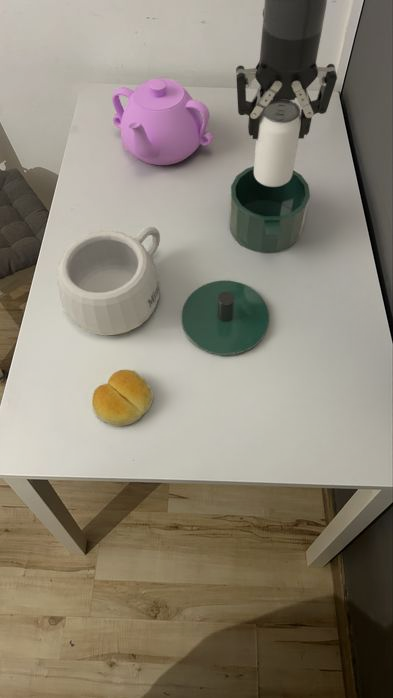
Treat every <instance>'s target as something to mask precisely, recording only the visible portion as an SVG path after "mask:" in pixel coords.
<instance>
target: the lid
mask: <svg viewBox="0 0 393 698" xmlns="http://www.w3.org/2000/svg"><path fill="white" fill-rule="evenodd" d="M269 322H270V313H269V308H268V305H267V303H266V301H265V299H264V298H263V297H262V296H261V295H260V293H259V292H257V291H256V290H255V289H254V288H252V287H251V286H249V285H247V284H245V283H242V282H239V281H234V280H216V281H211V282H208V283H205V284H203V285H202V286H199V287H198V288H196V289H195V290H194V291H192V292H191V293H190V294H189V296H188V297H187V298H186V300H185V302H184V304H183V306H182V310H181V324H182V329H183V330H184V332H185V333H184V334H186V336H187V338H188V339H189V340H190V341H191V342H192V343H193V344H194V345H195V346H197V347H198V348H199V349H201V350H203V351H206V352H207V353H210V354H214V355H219V356H231V355H232V356H233V355H238V354H241V353H244V352H246V351H248V350H250V349H252V348H253V347H255V346H257V344H259V342H260V341H261V340H262V339H263V338H264V336H265V334H266V333H267V332H268V331H267V330H268V328H269Z"/></svg>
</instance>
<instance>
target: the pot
mask: <svg viewBox="0 0 393 698" xmlns="http://www.w3.org/2000/svg"><path fill="white" fill-rule="evenodd" d="M310 199H311V192H310V185H309V183H308V182H307V181H306V180H305V177H303V175H302V174H300V173H299V172H298V171H296V170H294V169H293V173H292V177H291V179H290V181H289V182H287V183H286V184H284V185H282V186H279V187H267V186H264V185H262V184H261V183H259V182H258V181H257V180H256V178H255V177H254V165H253V166H250V167H247V168H245V169H243V171H241V172H239V174H237V175H236V176H235V178H234V180H233V182H232V184H231V185H230V201H229V202H230V203H229V230H230V233H231V235H232V237H233V239H234V241H236V242H237V243H238V244H239V245H241V246H242V247H244V248H245V249H248V250H250V251H252V252H257V253H261V254H263V253H264V254H273V253H278V252H282V251H284V250H287V249H289V248H291V247H292V246H293V245H294V244H296V242H297V241H298V240H299V239H300V237H301V235H302V231H303V229H304V226H305V221H306V216H307V211H308V207H309V203H310Z"/></svg>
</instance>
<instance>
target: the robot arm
mask: <svg viewBox="0 0 393 698" xmlns="http://www.w3.org/2000/svg"><path fill="white" fill-rule="evenodd" d="M327 3H328V0H264V4H263V9H262V27H261V38H260V39H261V41H260V51H259V52H260V53H259V60H258V63H257V64H256V66H255V67H254V68H245V66H243V65H238V66H237V67H236V68H235V75H236V76H235V78H236V79H235V80H236V94H237V95H236V97H237V113H238V115H240V116H247V117H248V125H247V128H248V129H247V131H248V135H249V136H250V137H251V136H252V140H256V139H257V138H258V127H259V115H260V113H261V112H262V110H263V109H264V108H266V107H267V105H268V104H269V103H270V101H271V100H272V99H273V100H281V99H287V100H291V101H295V99H296V100H297V102H298V105H299V107H300V116H301V127H300V133H299V139H298V140H301V139H302V140H303V139H305V136H308V134H309V133H310V129H311V124H312V119H313V116H314V115H316V114H320V115H324V114H325V113H327V111H328V108H329V106H330V105H329V104H330V101H331V99H332V95H333V92H334V89H335V86H336V83H337V80H338V75H337V70H336V66H335V64H333V63H329V64H328V65H326V66H325V67H324V66H318V65H317V59H318V53H319V49H320V43H321V37H322V31H323V27H324V21H325V16H326V11H327ZM317 78H318V81H319V85H320V87H319V90H318V94H317V98H316V99H314V100H312V99H311V96H310V95H309V92H308V88H309V86H311V85H312V83H313V82H314V81H315V80H316V79H317ZM253 80H256V82H257V83H258V85H259V86H258V88H257V90H256V93H255V95H254V96H253V98H252V100H251V101H249V100H247V89H248V88H249V87H251V85H252V82H253Z"/></svg>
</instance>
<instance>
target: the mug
mask: <svg viewBox="0 0 393 698" xmlns="http://www.w3.org/2000/svg"><path fill="white" fill-rule="evenodd" d="M149 236H151V243H150V245H149V248H148V249H146V248H145V246H144V244H143V242H144V241H145V240H146V238H147V237H149ZM160 241H161V233H160V232H159V230H158V229H157V228H156V227H155V226H146V227H144V228H143V229H142V230H140V231H139V232H138V233H137V235H136V236H135V237H133V236H131V235H129V234H126V233H124V232H122V231H115V230H99V231H95V232H91V233H87V234H85V235H83V236H81V237H79V238H78V239H76V240H74V242H72V243H71V244H70V245H69V246H68V247H67V249H66V250H65V251H64V252H63V254H62V256H61V258H60V260H59V262H58V268H57V273H56V280H57V287H58V288H57V289H58V293H59V298H60V302H61V304H62V305H61V306H62V307H63V309H64V311H65V313H66V315H67V316H68V318H70V319H71V321H72V322H73V323H75V325H77V326H78V327H79V328H80V329H83V330H85V331H86V332H89V333H91V334H96V335H99V336H117V335H121V334H125V333H128V332H130V331H133V330H134V329H136V328H138V327H140V326H141V325H142V324H144V322H146V321H147V320H149V318H150V317H151V315H153V313H154V311H155V310H156V308H157V305H158V302H159V299H160V288H161V287H160V286H161V285H160V284H161V283H160V279H159V276H158V275H159V274H158V273H157V269H156V265H155V263H154V261H153V257H154V256H155V254H156V252H157V250H158V249H159V245H160Z"/></svg>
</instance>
